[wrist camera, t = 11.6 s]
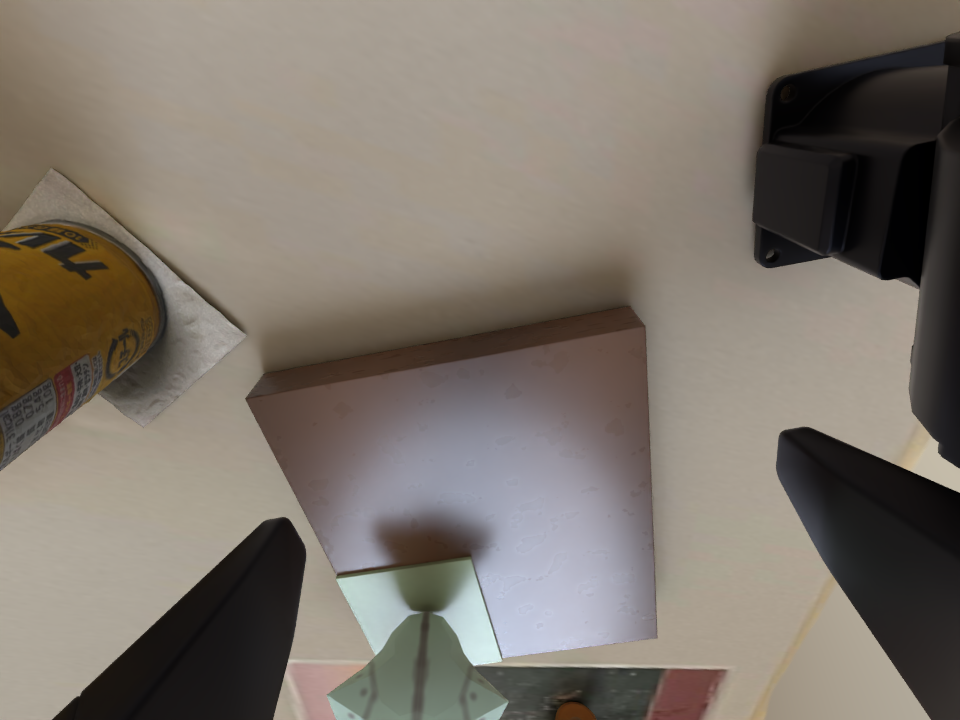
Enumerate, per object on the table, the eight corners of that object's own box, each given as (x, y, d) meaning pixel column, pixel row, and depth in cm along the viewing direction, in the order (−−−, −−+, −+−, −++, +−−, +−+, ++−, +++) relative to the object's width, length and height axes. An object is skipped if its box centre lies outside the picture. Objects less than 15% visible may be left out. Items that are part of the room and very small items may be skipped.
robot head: (504, 596, 25) (514, 748, 19) (495, 642, 27) (502, 794, 21) (349, 588, 25) (311, 742, 19) (352, 636, 27) (318, 789, 21)
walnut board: (630, 305, 20) (647, 328, 18) (646, 606, 29) (658, 641, 28) (263, 373, 21) (242, 401, 19) (391, 640, 31) (386, 676, 29)
